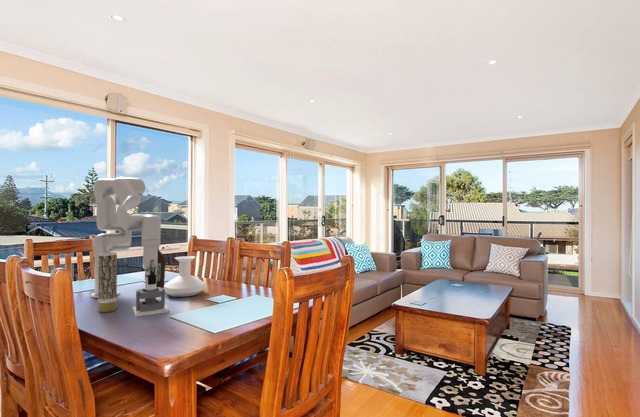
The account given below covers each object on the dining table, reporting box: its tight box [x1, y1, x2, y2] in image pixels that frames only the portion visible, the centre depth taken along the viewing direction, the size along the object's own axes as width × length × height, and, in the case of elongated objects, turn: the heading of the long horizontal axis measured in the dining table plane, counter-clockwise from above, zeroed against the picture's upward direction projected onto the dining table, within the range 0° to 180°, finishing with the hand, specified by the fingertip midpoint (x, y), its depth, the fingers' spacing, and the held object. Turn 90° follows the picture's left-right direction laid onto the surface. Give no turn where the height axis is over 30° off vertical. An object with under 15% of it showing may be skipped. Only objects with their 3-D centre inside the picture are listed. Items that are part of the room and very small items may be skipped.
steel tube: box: [144, 269, 157, 305], centre depth 157 cm, size 4×4×17 cm
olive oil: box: [144, 247, 167, 288], centre depth 201 cm, size 11×11×25 cm
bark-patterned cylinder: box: [97, 252, 118, 313], centre depth 156 cm, size 7×7×25 cm
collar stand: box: [132, 287, 170, 317], centre depth 157 cm, size 13×13×9 cm
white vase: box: [164, 255, 206, 298], centre depth 186 cm, size 20×20×19 cm
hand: (150, 282), depth 157 cm, fingers open, 9 cm apart
